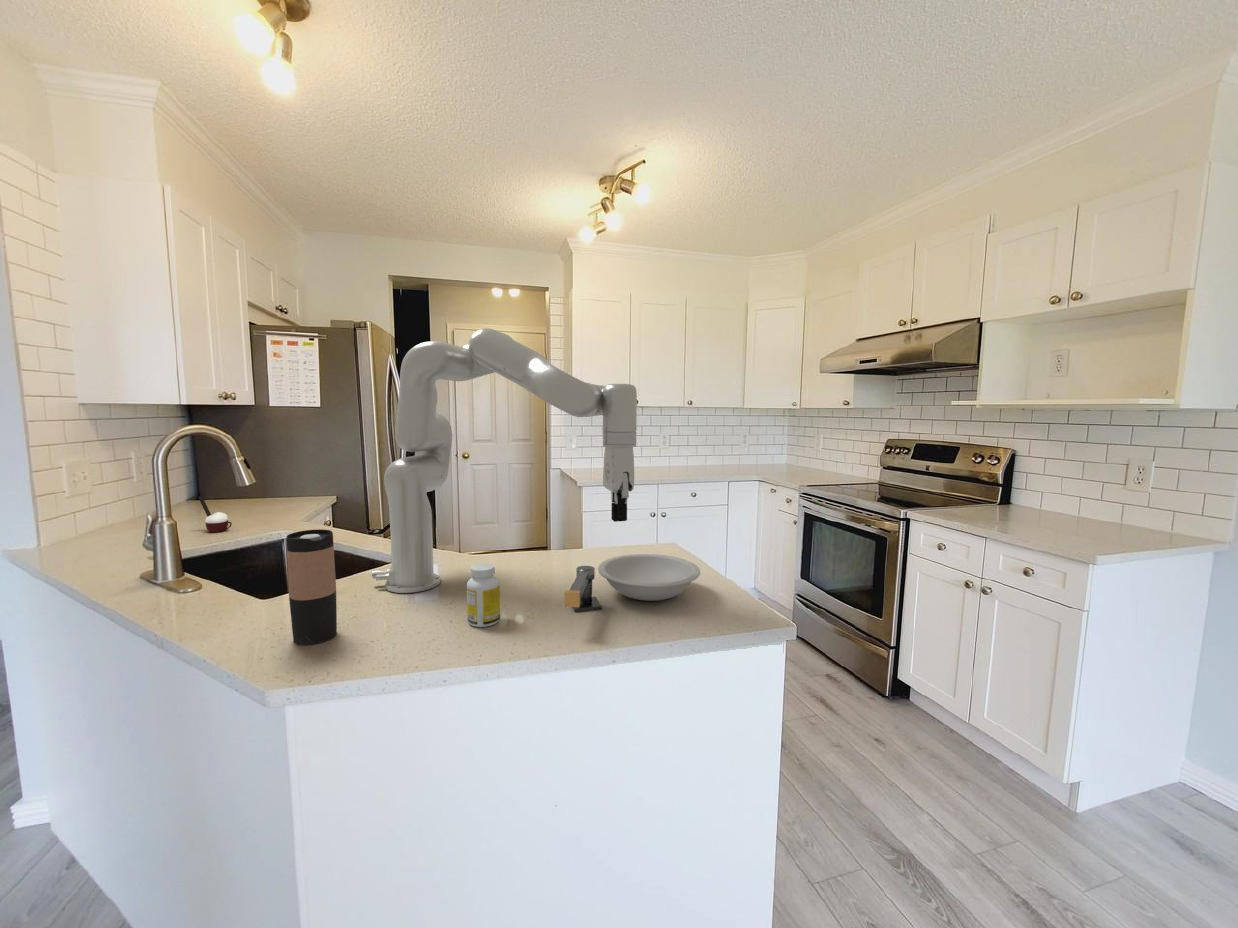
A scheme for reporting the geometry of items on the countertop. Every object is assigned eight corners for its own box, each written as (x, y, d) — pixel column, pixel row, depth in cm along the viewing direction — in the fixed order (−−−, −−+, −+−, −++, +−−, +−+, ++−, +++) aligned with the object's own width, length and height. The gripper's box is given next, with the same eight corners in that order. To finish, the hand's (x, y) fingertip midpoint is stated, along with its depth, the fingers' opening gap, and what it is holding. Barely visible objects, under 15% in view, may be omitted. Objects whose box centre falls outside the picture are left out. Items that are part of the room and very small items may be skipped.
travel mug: (304, 628, 101) (299, 529, 99) (345, 627, 102) (340, 528, 100) (283, 646, 94) (276, 539, 92) (326, 645, 94) (321, 538, 92)
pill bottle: (506, 618, 108) (505, 564, 106) (488, 630, 102) (487, 573, 100) (479, 613, 110) (478, 560, 108) (460, 625, 104) (459, 569, 102)
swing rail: (578, 576, 116) (578, 563, 116) (595, 576, 116) (595, 564, 116) (561, 606, 98) (561, 592, 98) (582, 607, 98) (582, 593, 98)
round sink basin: (719, 594, 123) (720, 567, 122) (655, 624, 105) (656, 593, 105) (642, 572, 139) (643, 548, 138) (576, 594, 122) (576, 567, 121)
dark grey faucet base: (574, 612, 111) (574, 585, 110) (569, 602, 117) (569, 576, 116) (601, 609, 113) (601, 582, 112) (595, 599, 118) (595, 574, 118)
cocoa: (235, 531, 179) (235, 497, 178) (216, 535, 173) (216, 500, 172) (215, 528, 182) (215, 494, 181) (196, 531, 176) (196, 497, 175)
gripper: (595, 438, 121) (595, 514, 123) (612, 442, 107) (611, 528, 109) (626, 437, 123) (625, 513, 125) (646, 441, 109) (645, 526, 111)
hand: (619, 520), depth 117 cm, fingers closed
